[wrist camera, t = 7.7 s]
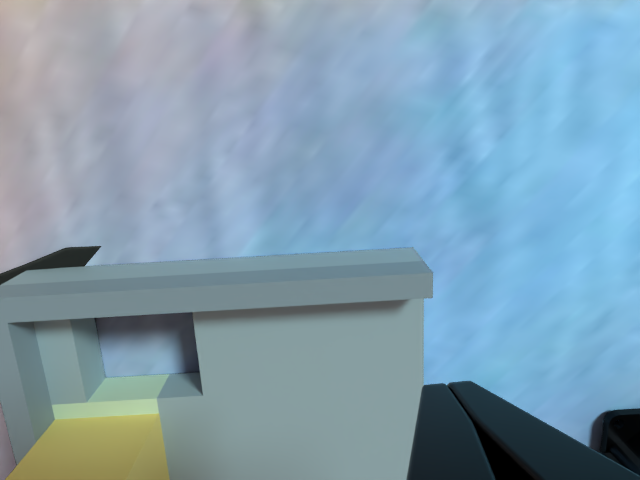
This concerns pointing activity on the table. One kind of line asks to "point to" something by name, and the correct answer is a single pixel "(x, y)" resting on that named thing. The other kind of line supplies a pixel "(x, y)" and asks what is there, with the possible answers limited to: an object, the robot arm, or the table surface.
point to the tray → (234, 360)
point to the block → (97, 450)
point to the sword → (55, 261)
